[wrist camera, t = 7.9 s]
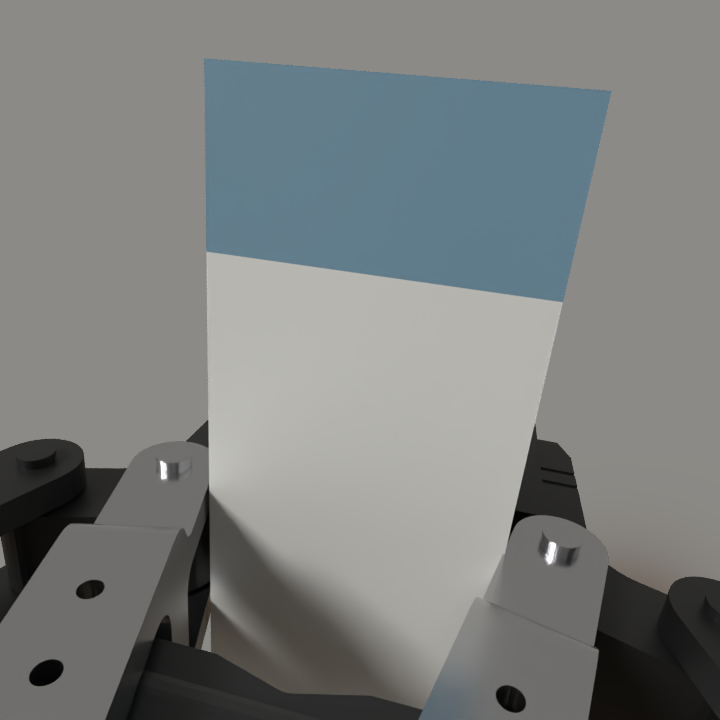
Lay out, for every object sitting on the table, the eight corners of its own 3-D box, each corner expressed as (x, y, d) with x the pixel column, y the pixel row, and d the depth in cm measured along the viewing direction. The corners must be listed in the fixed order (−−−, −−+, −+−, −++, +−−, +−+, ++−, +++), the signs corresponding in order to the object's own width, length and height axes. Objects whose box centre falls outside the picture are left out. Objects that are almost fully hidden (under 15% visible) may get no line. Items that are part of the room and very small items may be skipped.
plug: (432, 756, 15) (565, 110, 9) (410, 963, 11) (612, 90, 5) (282, 713, 15) (316, 88, 10) (213, 894, 12) (204, 58, 6)
